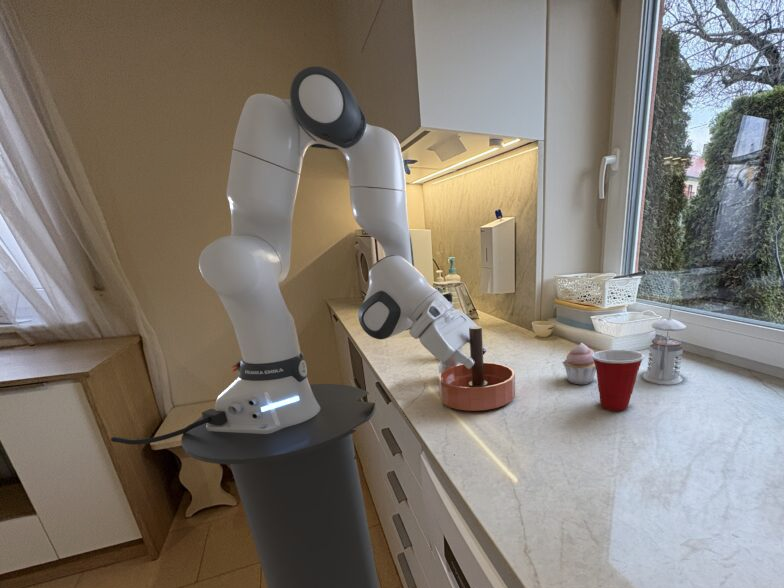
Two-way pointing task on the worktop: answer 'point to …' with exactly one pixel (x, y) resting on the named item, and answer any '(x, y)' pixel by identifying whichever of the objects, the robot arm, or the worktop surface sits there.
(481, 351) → the stirring stick
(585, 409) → the worktop surface
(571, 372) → the cupcake
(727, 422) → the worktop surface
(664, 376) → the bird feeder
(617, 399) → the plastic cup
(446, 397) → the bowl
